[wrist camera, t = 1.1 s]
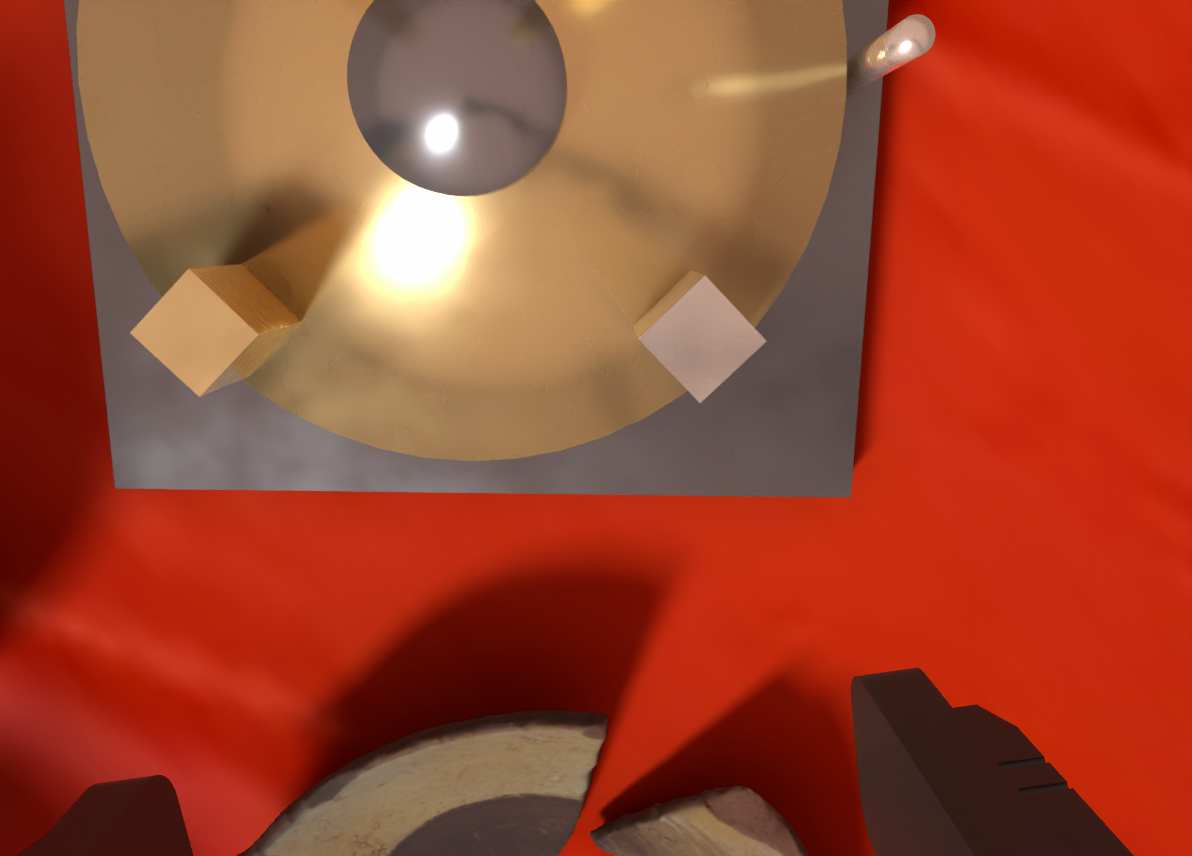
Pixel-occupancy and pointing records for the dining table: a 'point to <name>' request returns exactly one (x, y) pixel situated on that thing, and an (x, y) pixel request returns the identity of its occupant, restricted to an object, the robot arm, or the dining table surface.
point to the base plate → (603, 466)
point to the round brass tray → (463, 200)
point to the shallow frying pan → (507, 800)
